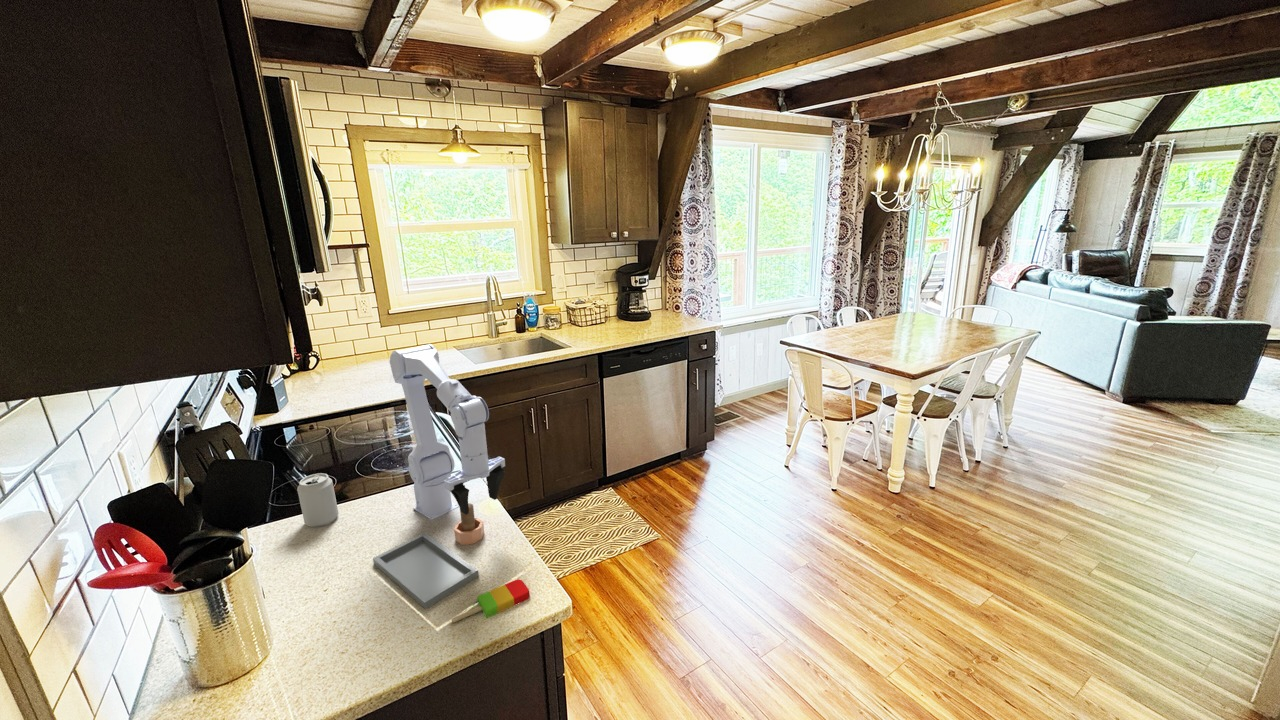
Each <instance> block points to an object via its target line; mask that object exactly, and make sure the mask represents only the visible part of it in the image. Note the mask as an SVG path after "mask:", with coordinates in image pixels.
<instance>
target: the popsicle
mask: <svg viewBox="0 0 1280 720" xmlns="http://www.w3.org/2000/svg"><path fill="white" fill-rule="evenodd" d="M530 594H531V593H530V589H529V588H528V586H527V585H526V583H525V582H524V581H523V580H522V579H515V580H512V581H510V582H507V583H505V584H503V585H500V586H498V587H496V588H494V589H491V590H488V591H486V592H484V593H482V594H478V595H477V603H478V607H474V608H473V609H471V610H468V611H466V612H463V613H461V614H459V615H457V616H454V617H453V618H451V623H453V624H454V623H456V622H458V621H460V620H463V619H465V618H468V617H469V616H471V615H474V614H476V613H478V612H481V611H482V612H483V614H484V616H485V617H486V619H488V618H491V617H493V616H495V615H496V614H499V613H501V612H504V611H505V610H507V609H510V608H512V607H515V606H516V604H517V605H519V604H521V603H523V602H525V601H527V600H528V599H529V598H530V596H531V595H530ZM518 603H519V604H518Z"/></svg>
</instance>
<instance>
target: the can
mask: <svg viewBox="0 0 1280 720" xmlns="http://www.w3.org/2000/svg"><path fill="white" fill-rule="evenodd" d="M298 484H299V485H298V486H297V490H296V491H297V494H298V500H299V504H300V508H301V513H302V517H303V518H302V519H303V523H304V524H305V525H306V526H308V527H311V528H320V527H324V526H328V525H329V524H331V523H332V522H334V521H335V520H336V519H337V517H338V516H339V508H338V504H337V499H336V494H335V488H334V483H333V479H332V478H330V477H329V475H328V474H327V473H322V472H320V473H313V474H310V475H307V476H305V477H303V478H302V479H301V480H300V481H299V482H298Z"/></svg>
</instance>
